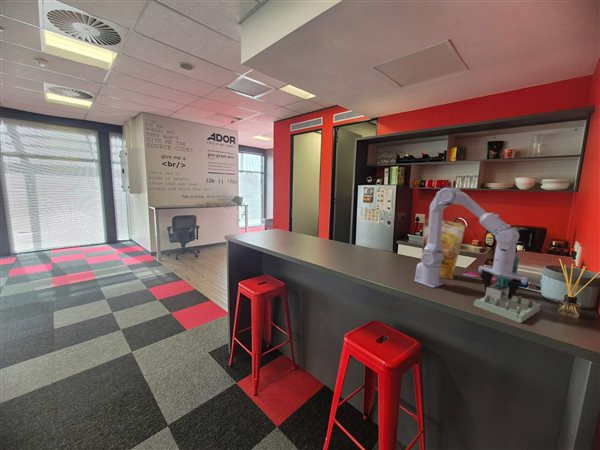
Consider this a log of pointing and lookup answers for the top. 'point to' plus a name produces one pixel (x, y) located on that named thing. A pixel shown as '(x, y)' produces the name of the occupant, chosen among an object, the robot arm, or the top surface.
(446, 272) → the pancake mix bag
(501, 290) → the block
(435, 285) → the robot arm
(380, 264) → the top surface
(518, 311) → the tray
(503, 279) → the beverage bottle
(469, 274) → the smartphone
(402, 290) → the top surface
